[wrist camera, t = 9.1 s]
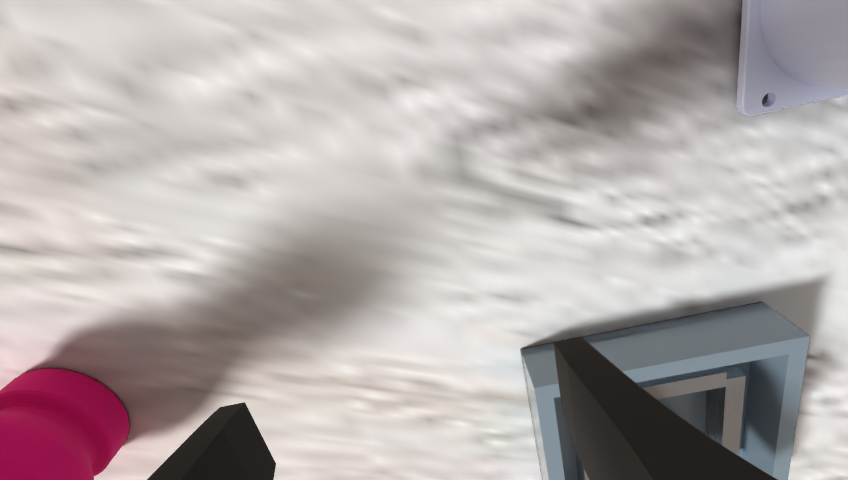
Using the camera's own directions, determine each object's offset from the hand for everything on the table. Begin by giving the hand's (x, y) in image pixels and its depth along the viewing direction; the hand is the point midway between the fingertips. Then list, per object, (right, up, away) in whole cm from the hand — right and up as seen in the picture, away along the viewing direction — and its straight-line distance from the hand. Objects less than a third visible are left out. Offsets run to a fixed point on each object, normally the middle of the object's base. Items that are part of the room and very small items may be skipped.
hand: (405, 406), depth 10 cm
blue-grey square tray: (+12, -6, +14) cm, 20 cm away
